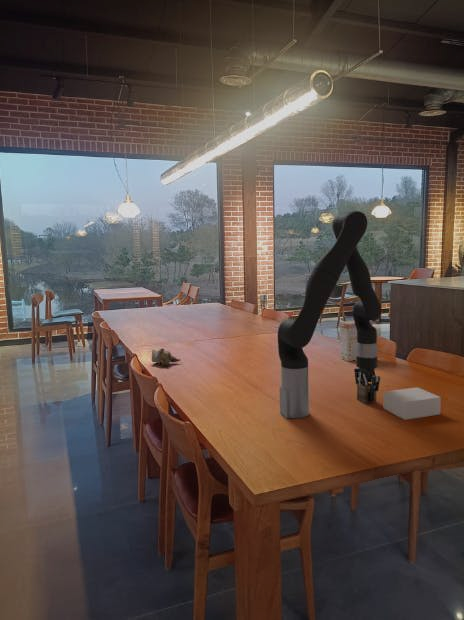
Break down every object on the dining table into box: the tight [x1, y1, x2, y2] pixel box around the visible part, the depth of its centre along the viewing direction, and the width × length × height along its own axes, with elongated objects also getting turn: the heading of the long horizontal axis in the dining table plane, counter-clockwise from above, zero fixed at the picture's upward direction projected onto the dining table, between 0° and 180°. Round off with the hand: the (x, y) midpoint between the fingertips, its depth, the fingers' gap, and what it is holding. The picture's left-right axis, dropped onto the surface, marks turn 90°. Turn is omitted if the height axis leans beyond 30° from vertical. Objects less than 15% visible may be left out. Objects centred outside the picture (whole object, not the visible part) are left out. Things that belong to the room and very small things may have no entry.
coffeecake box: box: [339, 319, 374, 362], centre depth 237 cm, size 15×7×20 cm, turn 108°
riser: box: [382, 386, 442, 421], centre depth 161 cm, size 14×12×6 cm
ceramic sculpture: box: [151, 348, 181, 366], centre depth 240 cm, size 11×9×15 cm
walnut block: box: [356, 383, 377, 405], centre depth 173 cm, size 5×5×6 cm
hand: (366, 399), depth 173 cm, fingers closed on walnut block, 5 cm apart
